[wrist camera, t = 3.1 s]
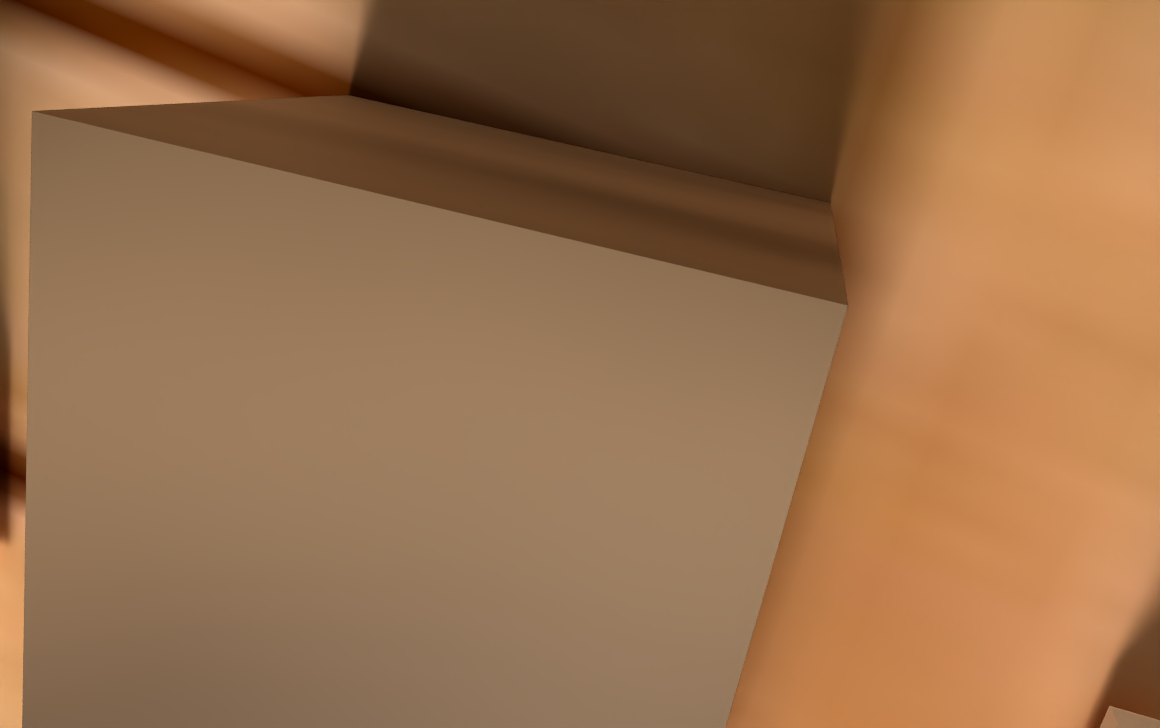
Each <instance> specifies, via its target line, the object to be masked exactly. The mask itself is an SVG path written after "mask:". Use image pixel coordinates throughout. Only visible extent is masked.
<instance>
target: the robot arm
mask: <svg viewBox="0 0 1160 728" xmlns="http://www.w3.org/2000/svg"><path fill="white" fill-rule="evenodd" d="M1100 728H1160V720H1158V719H1154V718H1151V717H1147V716H1144V715H1140V714H1137V713H1134V712H1130V711H1127V710H1123V709H1120V708H1116V707H1113V706H1109V708H1108V710H1107V712H1106V715H1105V717H1104V719H1103V721H1102V724H1101V726H1100Z"/></svg>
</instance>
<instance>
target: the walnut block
mask: <svg viewBox="0 0 1160 728" xmlns="http://www.w3.org/2000/svg"><path fill="white" fill-rule="evenodd" d="M847 308H848V302H847V296H846V290H845V285H844V279H843V273H842V267H841V261H840V256H839V250H838V244H837V238H836V232H835V227H834V221H833V215H832V209H831V203H829V202H824V201H820V200H815V199H811V198H806V197H802V196H797V195H793V194H789V193H784V192H780V191H775V190H771V189H766V188H762V187H757V186H753V185H748V184H744V183H739V182H735V181H730V180H726V179H721V178H717V177H713V176H708V175H704V174H699V173H695V172H690V171H686V170H681V169H677V168H672V167H668V166H663V165H659V164H654V163H650V162H645V161H641V160H637V159H632V158H628V157H623V156H619V155H614V154H610V153H605V152H601V151H596V150H592V149H587V148H583V147H578V146H574V145H569V144H565V143H561V142H556V141H552V140H547V139H543V138H538V137H534V136H529V135H525V134H520V133H516V132H511V131H507V130H502V129H498V128H493V127H489V126H485V125H480V124H476V123H471V122H467V121H462V120H458V119H453V118H449V117H444V116H440V115H435V114H431V113H426V112H422V111H417V110H413V109H409V108H404V107H400V106H395V105H391V104H386V103H382V102H377V101H373V100H368V99H364V98H359V97H355V96H350V95H341V96H321V97H301V98H282V99H262V100H242V101H222V102H203V103H183V104H163V105H143V106H124V107H104V108H84V109H64V110H44V111H32V143H31V207H30V270H29V334H28V398H27V461H26V525H25V589H24V652H23V716H22V728H725V727H726V724H727V720H728V717H729V713H730V710H731V707H732V703H733V700H734V696H735V693H736V689H737V686H738V682H739V679H740V676H741V672H742V669H743V665H744V662H745V658H746V655H747V652H748V648H749V645H750V641H751V638H752V634H753V631H754V627H755V624H756V621H757V617H758V614H759V610H760V607H761V603H762V600H763V597H764V593H765V590H766V586H767V583H768V579H769V576H770V572H771V569H772V566H773V562H774V559H775V555H776V552H777V548H778V545H779V542H780V538H781V535H782V531H783V528H784V524H785V521H786V517H787V514H788V511H789V507H790V504H791V500H792V497H793V493H794V490H795V487H796V483H797V480H798V476H799V473H800V469H801V466H802V462H803V459H804V456H805V452H806V449H807V445H808V442H809V438H810V435H811V432H812V428H813V425H814V421H815V418H816V414H817V411H818V407H819V404H820V401H821V397H822V394H823V390H824V387H825V383H826V380H827V377H828V373H829V370H830V366H831V363H832V359H833V356H834V352H835V349H836V346H837V342H838V339H839V335H840V332H841V328H842V325H843V321H844V318H845V315H846V311H847Z"/></svg>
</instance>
